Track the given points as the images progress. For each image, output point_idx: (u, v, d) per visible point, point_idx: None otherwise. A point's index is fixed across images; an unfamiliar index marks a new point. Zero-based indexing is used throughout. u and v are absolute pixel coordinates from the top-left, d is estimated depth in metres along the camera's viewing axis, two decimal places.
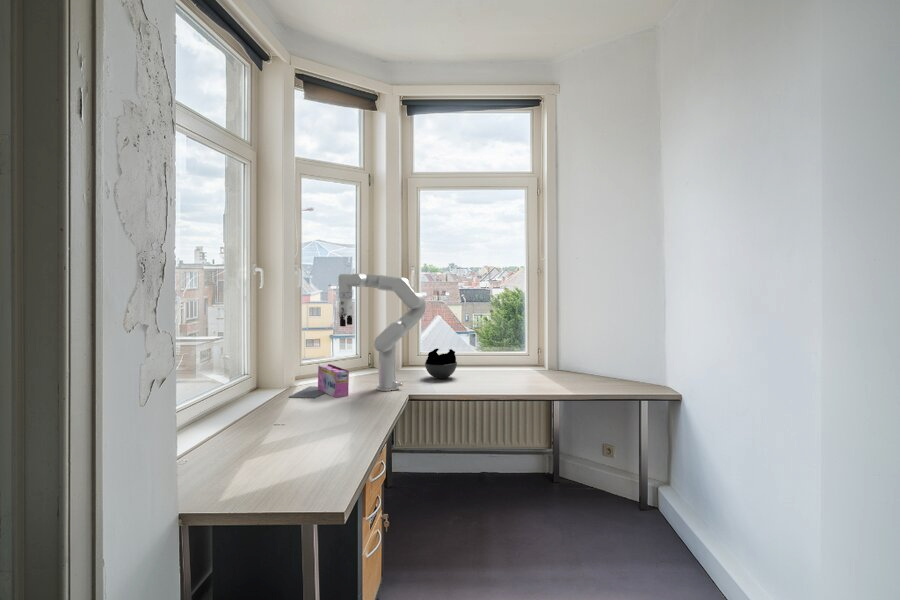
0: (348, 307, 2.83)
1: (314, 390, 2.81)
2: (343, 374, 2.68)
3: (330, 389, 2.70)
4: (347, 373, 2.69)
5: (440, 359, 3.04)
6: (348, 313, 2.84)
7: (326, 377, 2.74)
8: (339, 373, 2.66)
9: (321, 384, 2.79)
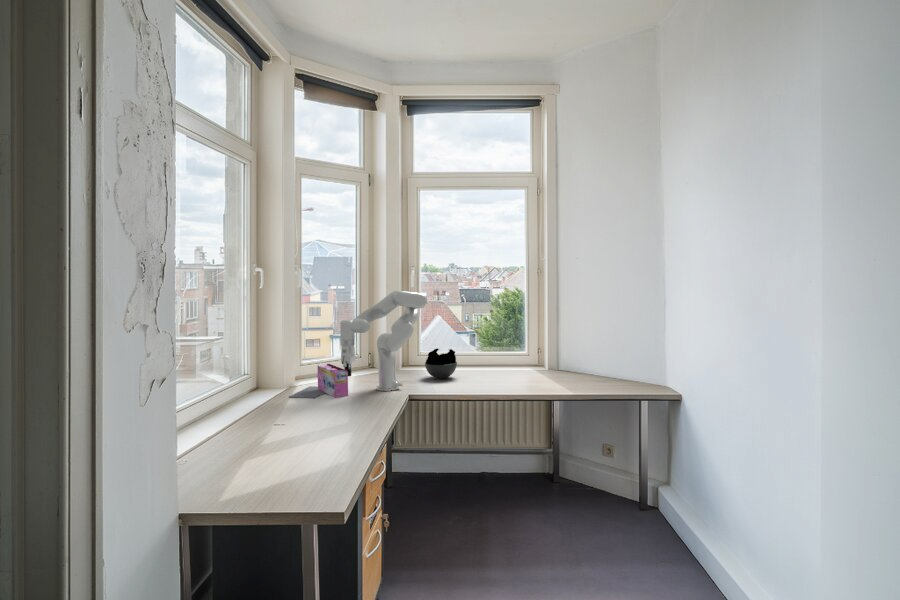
0: (350, 356, 2.70)
1: (314, 390, 2.81)
2: (342, 374, 2.67)
3: (329, 390, 2.70)
4: (346, 373, 2.69)
5: (440, 359, 3.04)
6: (350, 361, 2.71)
7: (325, 377, 2.73)
8: (338, 373, 2.66)
9: (321, 384, 2.79)
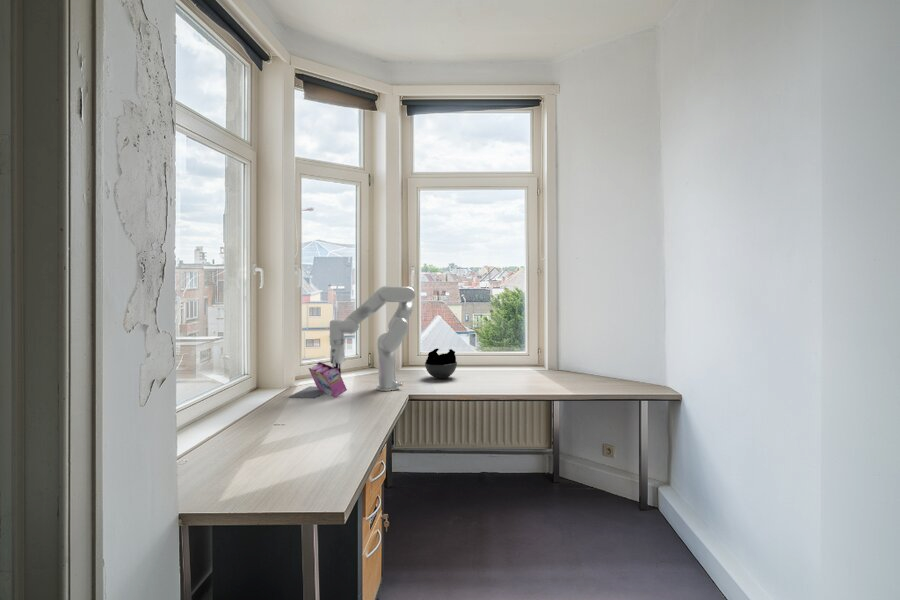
0: (339, 355, 2.71)
1: (314, 390, 2.81)
2: (333, 374, 2.64)
3: (327, 390, 2.70)
4: (337, 371, 2.65)
5: (440, 359, 3.04)
6: (339, 361, 2.72)
7: (319, 380, 2.71)
8: (329, 375, 2.63)
9: (319, 385, 2.78)
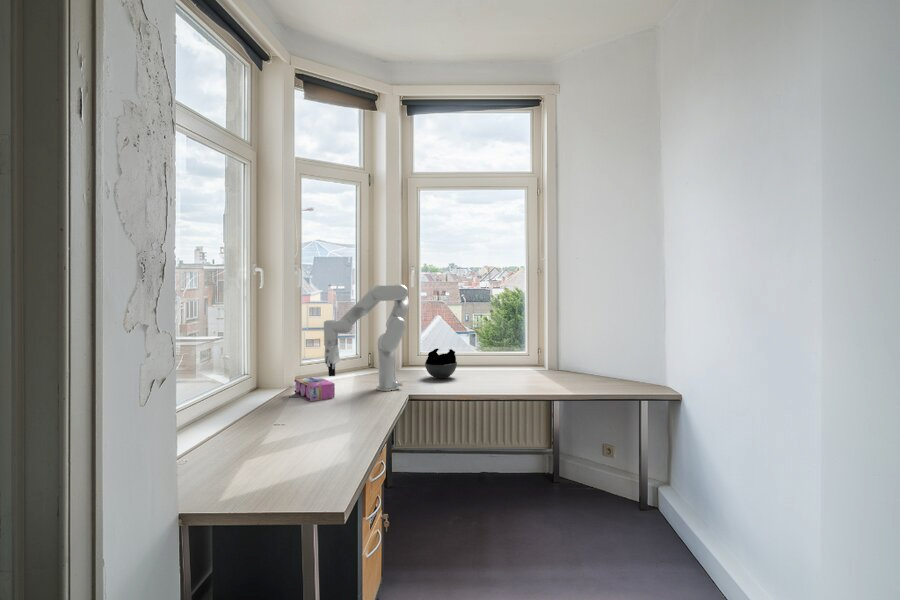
0: (333, 356, 2.72)
1: None
2: (313, 392, 2.58)
3: None
4: (312, 388, 2.57)
5: (440, 359, 3.04)
6: (334, 361, 2.73)
7: None
8: (311, 397, 2.57)
9: None
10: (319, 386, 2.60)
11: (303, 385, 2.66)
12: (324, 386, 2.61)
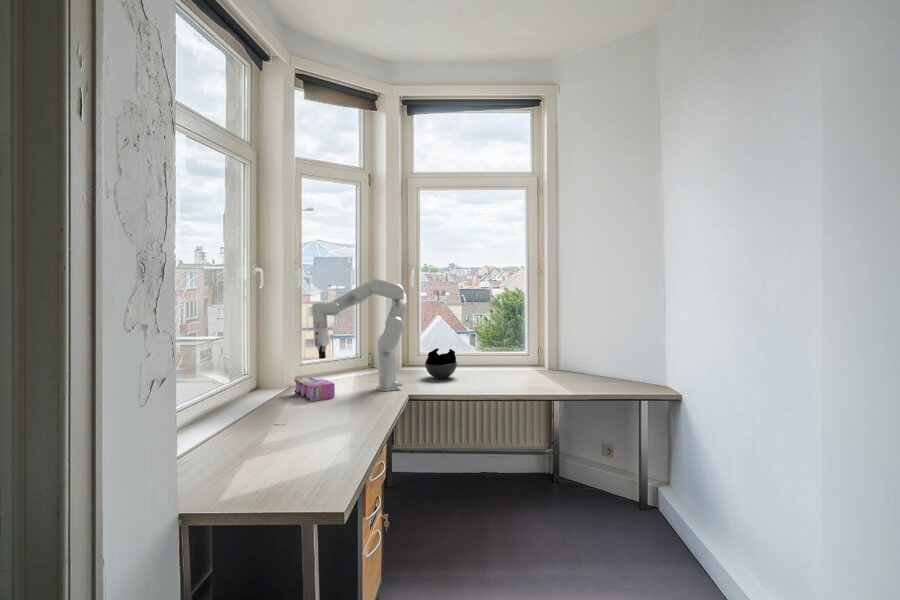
0: (323, 338, 2.73)
1: None
2: (313, 392, 2.58)
3: None
4: (312, 388, 2.57)
5: (440, 359, 3.04)
6: (323, 344, 2.73)
7: None
8: (311, 397, 2.57)
9: None
10: (319, 386, 2.60)
11: (303, 385, 2.66)
12: (324, 386, 2.61)
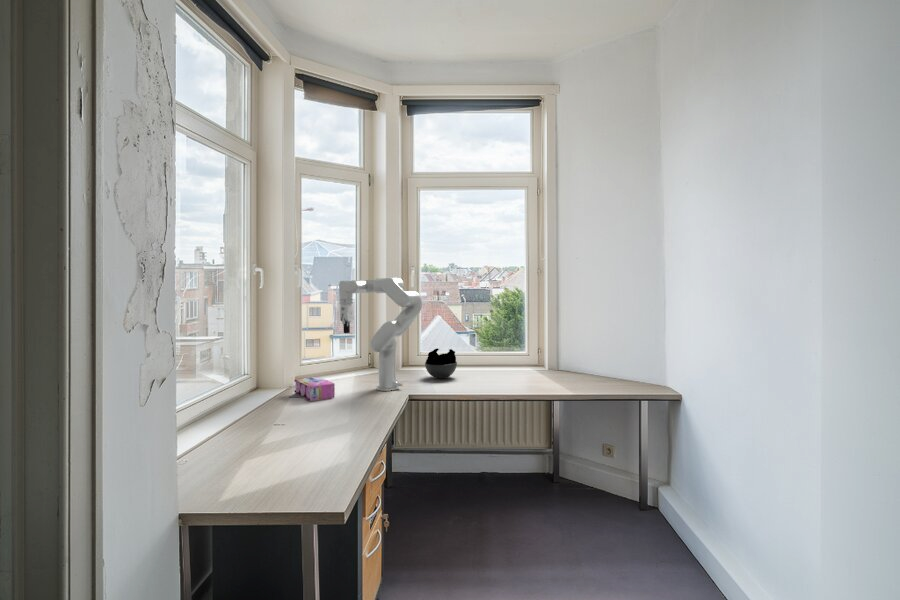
0: (348, 313, 2.91)
1: None
2: (313, 392, 2.58)
3: None
4: (312, 388, 2.57)
5: (440, 359, 3.04)
6: (349, 319, 2.91)
7: None
8: (311, 397, 2.57)
9: None
10: (319, 386, 2.60)
11: (303, 385, 2.66)
12: (324, 386, 2.61)
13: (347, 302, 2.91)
